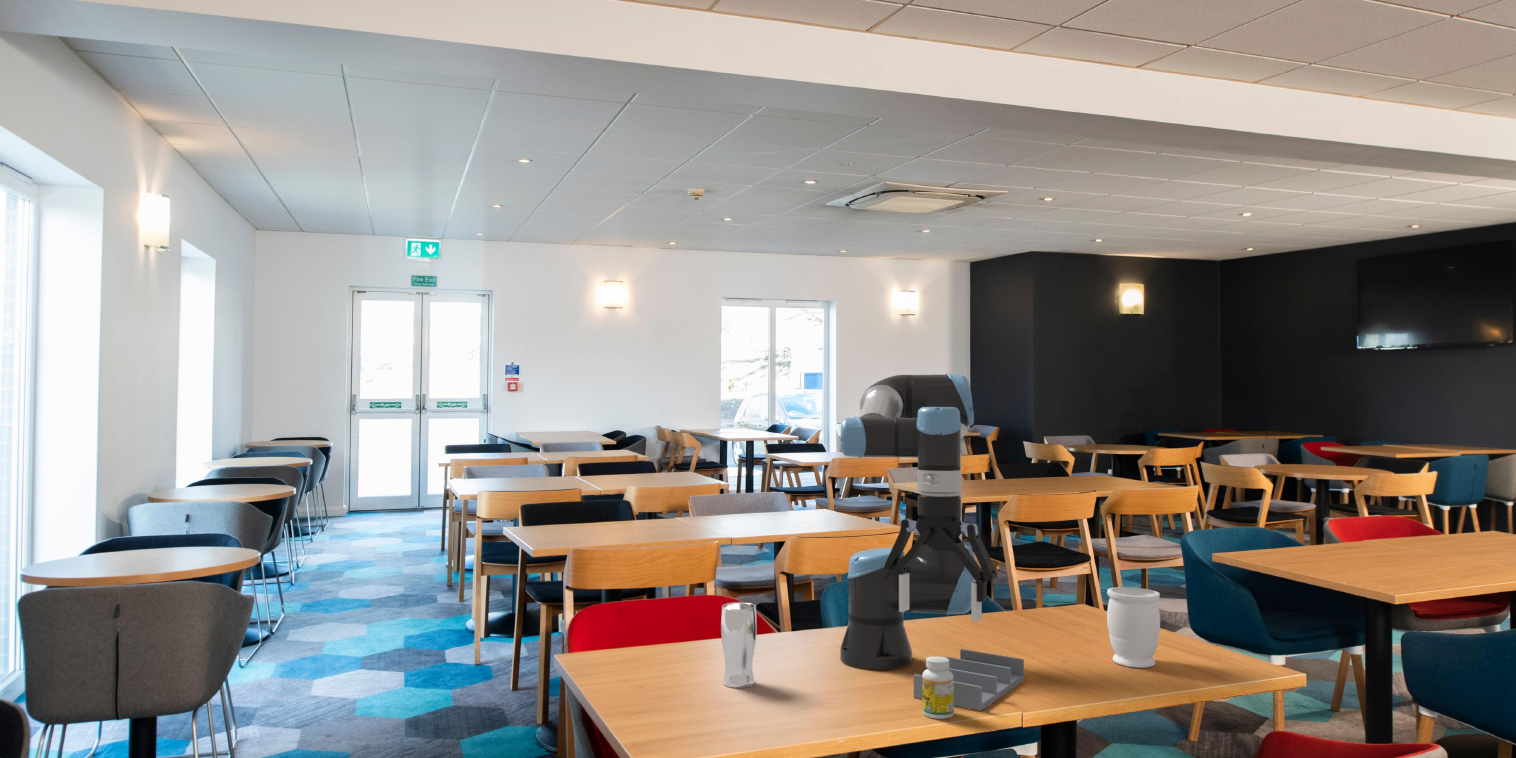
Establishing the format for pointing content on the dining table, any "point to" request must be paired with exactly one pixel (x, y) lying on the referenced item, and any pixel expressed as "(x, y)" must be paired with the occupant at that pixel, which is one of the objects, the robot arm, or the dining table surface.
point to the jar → (1133, 625)
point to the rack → (980, 678)
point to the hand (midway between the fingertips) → (939, 615)
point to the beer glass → (738, 643)
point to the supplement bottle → (938, 689)
